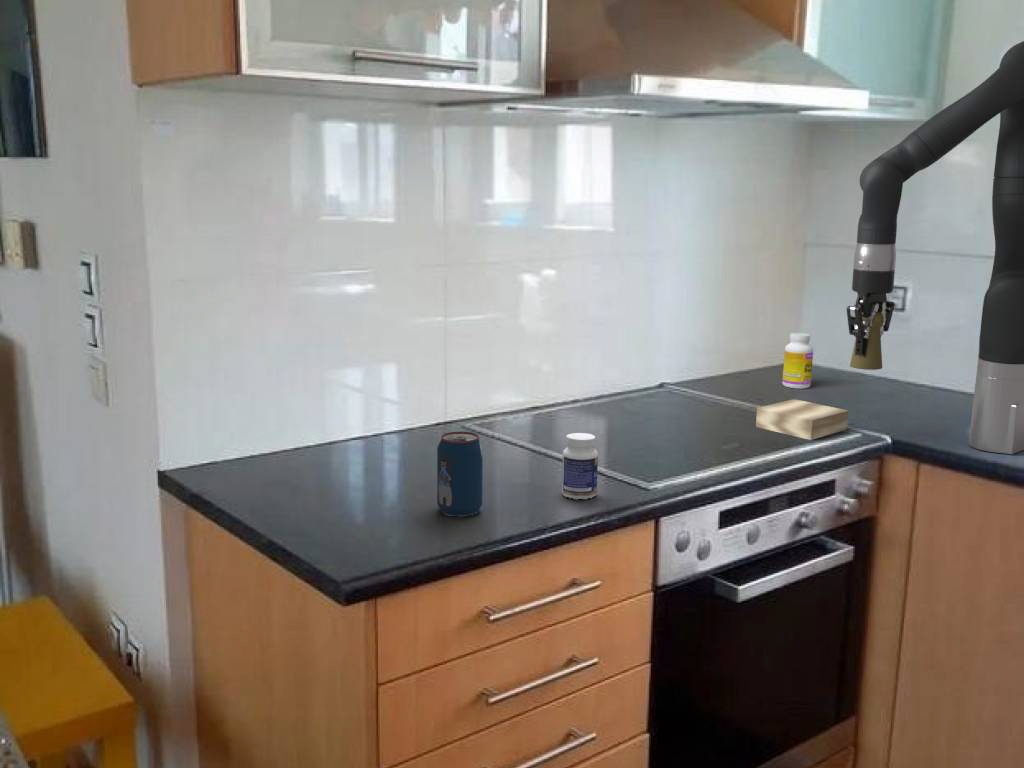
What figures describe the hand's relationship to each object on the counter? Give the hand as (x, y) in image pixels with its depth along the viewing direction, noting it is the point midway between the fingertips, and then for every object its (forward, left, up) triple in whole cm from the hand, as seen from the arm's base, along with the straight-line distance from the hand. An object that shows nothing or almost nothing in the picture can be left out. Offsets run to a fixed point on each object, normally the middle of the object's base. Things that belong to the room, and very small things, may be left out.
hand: (867, 355), depth 202 cm
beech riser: (+12, +2, -17) cm, 21 cm away
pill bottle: (+10, +68, -17) cm, 71 cm away
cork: (0, 0, -3) cm, 3 cm away
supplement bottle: (+36, -32, -17) cm, 51 cm away
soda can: (+16, +88, -17) cm, 91 cm away
